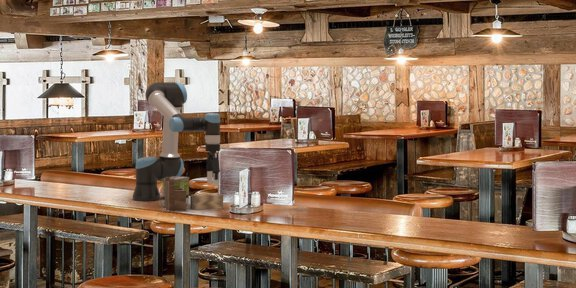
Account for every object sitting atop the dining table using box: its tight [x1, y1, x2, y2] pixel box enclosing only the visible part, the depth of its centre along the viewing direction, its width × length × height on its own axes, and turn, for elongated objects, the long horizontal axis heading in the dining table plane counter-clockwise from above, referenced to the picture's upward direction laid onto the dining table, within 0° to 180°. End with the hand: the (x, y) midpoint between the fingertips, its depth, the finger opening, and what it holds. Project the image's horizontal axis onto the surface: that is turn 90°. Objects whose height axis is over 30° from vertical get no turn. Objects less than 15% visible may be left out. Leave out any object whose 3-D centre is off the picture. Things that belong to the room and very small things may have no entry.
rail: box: [189, 193, 224, 210], centre depth 455 cm, size 16×5×7 cm, turn 108°
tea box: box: [161, 176, 190, 207], centre depth 466 cm, size 15×10×15 cm
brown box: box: [164, 177, 187, 212], centre depth 450 cm, size 14×8×16 cm, turn 18°
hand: (212, 185), depth 455 cm, fingers open, 13 cm apart
